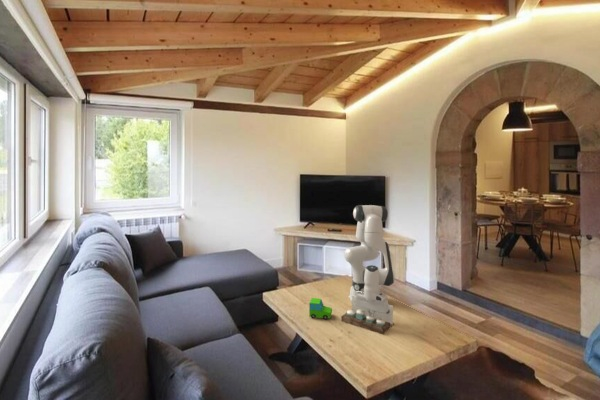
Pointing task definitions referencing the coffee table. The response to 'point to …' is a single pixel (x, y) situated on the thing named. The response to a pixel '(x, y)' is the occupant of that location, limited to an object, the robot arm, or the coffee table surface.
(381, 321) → the button
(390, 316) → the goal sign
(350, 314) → the button
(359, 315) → the button
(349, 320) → the walnut button board
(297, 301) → the coffee table surface
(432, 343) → the coffee table surface
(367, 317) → the button
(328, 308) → the toy car
